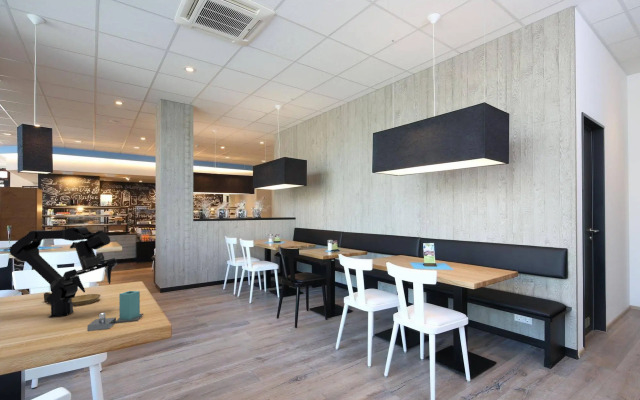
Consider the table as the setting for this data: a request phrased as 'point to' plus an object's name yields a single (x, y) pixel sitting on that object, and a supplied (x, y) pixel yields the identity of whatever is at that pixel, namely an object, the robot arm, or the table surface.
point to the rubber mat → (128, 320)
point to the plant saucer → (85, 299)
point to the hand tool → (46, 297)
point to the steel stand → (101, 323)
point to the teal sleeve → (129, 305)
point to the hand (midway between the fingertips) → (97, 287)
